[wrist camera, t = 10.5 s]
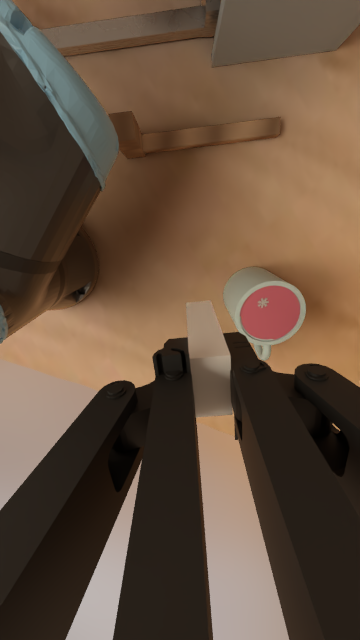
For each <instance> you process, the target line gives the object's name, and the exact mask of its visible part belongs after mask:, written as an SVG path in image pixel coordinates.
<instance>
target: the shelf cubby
mask: <svg viewBox="0 0 360 640" xmlns="http://www.w3.org/2000/svg"><path fill="white" fill-rule="evenodd" d="M359 24H360V0H221V4H220V10H219V15H218V21H217V26H216V32H215V37H214V43H213V48H212V54H211V57H212V67H217V66H225V65H232V64H239V63H247V62H254V61H261V60H269V59H276V58H283V57H291V56H298V55H305V54H313V53H320V52H327V51H335V50H337V49H338V48H339V46H340V45H341V44H342V43H343V42H344V41H345V40H346V39H347V38H348V37H349V35H350V34H351V33H352V32H353V31H354V30H355V29H356V28H357V27H358V26H359Z"/></svg>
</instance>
